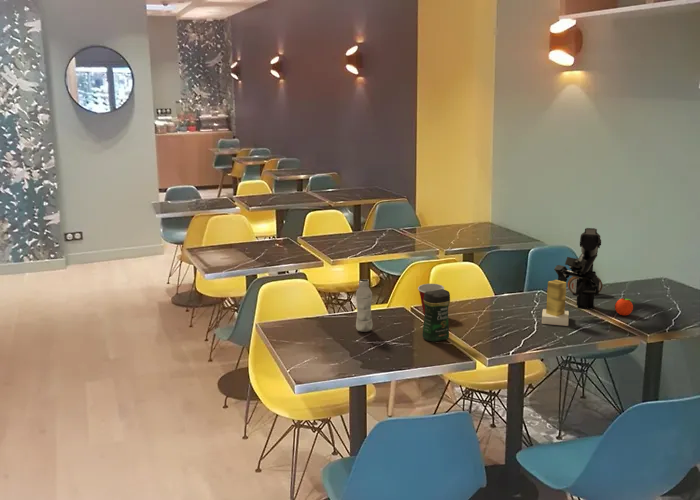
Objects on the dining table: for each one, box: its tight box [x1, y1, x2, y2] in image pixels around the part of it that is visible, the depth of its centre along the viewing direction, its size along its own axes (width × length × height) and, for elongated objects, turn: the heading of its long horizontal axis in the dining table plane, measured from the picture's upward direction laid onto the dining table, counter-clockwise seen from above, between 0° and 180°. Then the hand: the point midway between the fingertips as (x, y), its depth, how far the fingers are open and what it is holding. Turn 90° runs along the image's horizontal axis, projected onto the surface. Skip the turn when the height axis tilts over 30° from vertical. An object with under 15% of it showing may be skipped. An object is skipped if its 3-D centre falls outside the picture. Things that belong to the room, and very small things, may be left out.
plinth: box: [541, 308, 570, 327], centre depth 284 cm, size 10×10×3 cm
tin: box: [566, 276, 603, 295], centre depth 320 cm, size 15×3×8 cm, turn 84°
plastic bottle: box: [355, 278, 373, 333], centre depth 272 cm, size 6×7×20 cm
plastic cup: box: [417, 283, 445, 316], centre depth 291 cm, size 11×11×12 cm
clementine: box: [614, 298, 635, 316], centre depth 289 cm, size 8×7×7 cm
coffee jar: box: [421, 288, 451, 343], centre depth 263 cm, size 10×8×19 cm
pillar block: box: [545, 279, 567, 316], centre depth 282 cm, size 5×5×13 cm
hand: (566, 292), depth 286 cm, fingers open, 9 cm apart
